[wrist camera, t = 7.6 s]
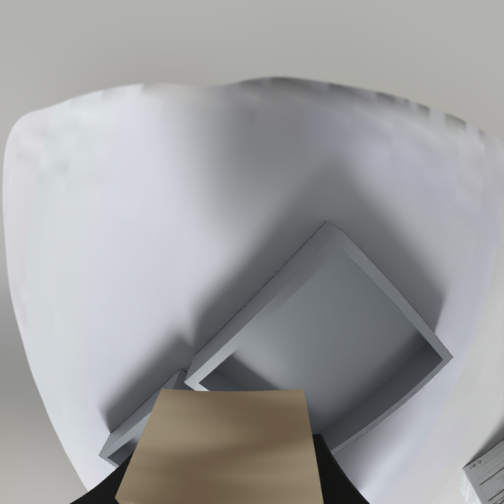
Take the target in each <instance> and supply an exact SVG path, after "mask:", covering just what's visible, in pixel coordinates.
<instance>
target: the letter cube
mask: <svg viewBox="0 0 504 504" xmlns="http://www.w3.org/2000/svg"><path fill="white" fill-rule="evenodd" d="M115 499H116V500H117V501H118V502H119V504H323V497H322V491H321V485H320V479H319V473H318V467H317V461H316V455H315V449H314V444H313V438H312V432H311V427H310V421H309V416H308V410H307V405H306V399H305V394H304V389H291V390H272V391H193V390H175V389H161V391H160V394H159V396H158V398H157V400H156V403H155V405H154V407H153V410H152V412H151V414H150V416H149V419H148V421H147V423H146V426H145V428H144V430H143V432H142V435H141V437H140V439H139V442H138V444H137V446H136V449H135V451H134V453H133V456H132V458H131V461H130V463H129V465H128V468H127V470H126V472H125V475H124V477H123V480H122V482H121V484H120V487H119V489H118V492H117V494H116V497H115Z"/></svg>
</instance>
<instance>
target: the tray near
mask: <svg viewBox="0 0 504 504" xmlns="http://www.w3.org/2000/svg"><path fill="white" fill-rule="evenodd" d="M452 358H453V356H452V355H451V354H450V352H449V351H448V350H447V349H446V347H445V346H444V345H443V344H442V342H441V341H440V340H439V339H438V337H437V336H436V335H435V334H434V332H433V331H432V330H431V329H430V328H429V326H428V325H427V324H426V323H425V321H424V320H423V319H422V318H421V317H420V316H419V314H418V313H417V312H416V311H415V310H414V308H413V307H412V306H411V305H410V304H409V303H408V301H407V300H406V299H405V298H404V297H403V296H402V295H401V293H400V292H399V291H398V290H397V289H396V288H395V287H394V286H393V284H392V283H391V282H390V281H389V280H388V279H387V278H386V277H385V276H384V274H383V273H382V272H381V271H380V270H379V269H378V268H377V267H376V266H375V265H374V264H373V262H372V261H371V260H370V259H369V258H368V257H367V256H366V255H365V254H364V253H363V252H362V251H361V250H360V249H359V248H358V247H357V246H356V244H355V243H354V242H353V241H352V240H351V239H350V238H349V237H348V236H347V235H346V234H345V233H344V232H343V231H342V230H341V229H340V228H338V227H336V226H335V225H333V224H332V223H330V222H328V221H326V222H325V223H324V224H323V225H322V226H321V227H320V228H319V229H318V231H317V232H316V233H315V234H314V235H313V236H312V237H311V238H310V239H309V240H308V241H307V242H306V243H305V244H304V245H303V246H302V247H301V248H300V249H299V251H298V252H297V253H296V254H295V255H294V256H293V257H292V258H291V259H290V260H289V261H288V262H287V263H286V264H285V265H284V266H283V267H282V268H281V269H280V270H279V271H278V272H277V273H276V274H275V275H274V276H273V277H272V278H271V279H270V281H269V282H268V283H267V284H266V285H265V286H264V287H263V288H262V289H261V290H260V291H259V292H258V293H257V294H256V295H255V296H254V297H253V298H252V299H251V300H250V301H249V302H248V303H247V304H246V305H245V306H244V307H243V308H242V309H241V310H240V311H239V312H238V313H237V314H236V315H235V316H234V317H233V318H232V319H231V320H230V321H229V322H228V323H227V324H226V325H225V326H224V327H223V328H222V329H221V330H220V331H219V332H218V333H217V334H216V335H215V336H214V337H213V338H212V339H211V340H210V341H209V342H207V343H206V344H205V345H204V346H203V347H202V348H201V349H200V350H199V351H198V352H197V353H196V354H195V355H194V356H193V359H192V362H191V365H190V367H189V370H188V373H187V376H186V378H185V381H184V383H185V384H187V385H188V386H189V387H191V388H192V389H194V390H195V391H272V390H291V389H304V394H305V399H306V405H307V410H308V416H309V421H310V427H311V432H312V434H321V435H323V438H324V440H325V442H326V444H327V446H328V448H329V450H330V451H331V453H332V455H334V454H336V453H337V452H339V451H340V450H342V449H343V448H345V447H346V446H348V445H349V444H351V443H352V442H354V441H355V440H357V439H358V438H360V437H361V436H362V435H364V434H365V433H367V432H368V431H369V430H371V429H372V428H373V427H375V426H376V425H377V424H379V423H380V422H381V421H383V420H384V419H385V418H387V417H388V416H389V415H390V414H392V413H393V412H394V411H395V410H397V409H398V408H399V407H400V406H401V405H403V404H404V403H405V402H406V401H407V400H409V399H410V398H411V397H412V396H413V395H414V394H415V393H417V392H418V391H419V390H420V389H421V388H422V387H423V386H424V385H425V384H426V383H428V382H429V381H430V380H431V379H432V378H433V377H434V376H435V375H436V374H437V373H438V372H439V371H440V370H441V369H442V368H443V367H444V366H445V365H446V364H447V363H448V362H449V361H450V360H451V359H452Z"/></svg>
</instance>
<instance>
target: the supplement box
mask: <svg viewBox="0 0 504 504" xmlns="http://www.w3.org/2000/svg"><path fill="white" fill-rule="evenodd" d="M460 490H461V492H462V494H463V496H464V498H465V500H466V502H467V504H504V440H502V441H501V442H500V443H498V444H497V445H496V446H495V447H493V448H492V449H491V450H489V451H488V452H486V453H485V454H484V455H482V456H481V457H479V458H478V459H476V460H475V461H473V462H472V463H470V464H469V465H467V466H466V467H464V468H463V469H462V480H461V488H460Z"/></svg>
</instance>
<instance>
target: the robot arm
mask: <svg viewBox="0 0 504 504" xmlns="http://www.w3.org/2000/svg"><path fill="white" fill-rule="evenodd" d="M312 438H313V444H314V449H315V455H316V461H317V467H318V473H319V479H320V485H321V491H322V497H323V504H370V503H369V502H368V501H367V500H366V499H365V498H364V497H363V496H362V495H361V494H360V493H359V491H358V490H357V489H356V488H355V487H354V485H353V484H352V483H351V481H350V480H349V479H348V477H347V476H346V475H345V473H344V472H343V470H342V469H341V468H340V466H339V465H338V463H337V461H336V460H335V458H334V457H333V455H332V453H331V451H330V450H329V448H328V446H327V444H326V442H325V440H324V438H323V435H321V434H312ZM134 451H135V450H134ZM134 451H133V452H132V453H131V454H130V455H129V456H128V457H127V458H126V459H125V460H124V461H123V462H122V463H121V464H120V465H119V466H118V467H117V468H116V469H115V470H114V471H113V472H112V473H111V474H110V475H109V476H108V477H107V478H105V479H104V480H103V481H102V482H101V483H100V484H98V485H97V486H96V487H95V488H93V489H92V490H91V491H89V492H88V493H86V494H85V495H83V496H82V497H80V498H79V499H77V500H75V501H74V502H72V503H70V504H119V502H118V501H117V500H116V499H115V497H116V494H117V492H118V489H119V487H120V484H121V482H122V480H123V477H124V475H125V472H126V470H127V468H128V465H129V463H130V461H131V458H132V456H133V453H134Z"/></svg>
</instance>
